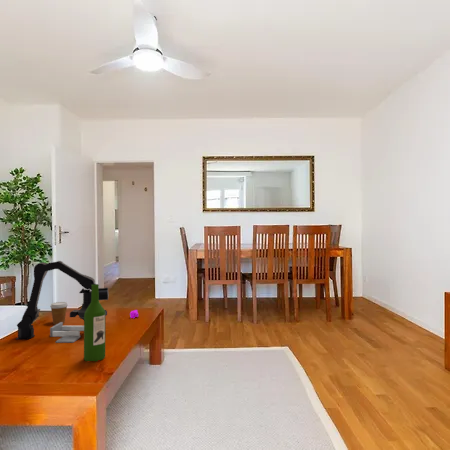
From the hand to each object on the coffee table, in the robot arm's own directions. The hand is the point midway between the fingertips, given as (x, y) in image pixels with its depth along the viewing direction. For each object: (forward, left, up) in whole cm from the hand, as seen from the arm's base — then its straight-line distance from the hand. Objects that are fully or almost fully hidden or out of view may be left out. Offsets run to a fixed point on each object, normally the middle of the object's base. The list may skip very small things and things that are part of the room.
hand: (88, 329), depth 188 cm
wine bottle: (+17, -36, -2) cm, 40 cm away
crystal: (+16, +33, -2) cm, 37 cm away
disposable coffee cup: (-26, +20, -2) cm, 33 cm away
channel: (-10, 0, -2) cm, 10 cm away
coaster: (-6, -11, -2) cm, 13 cm away
